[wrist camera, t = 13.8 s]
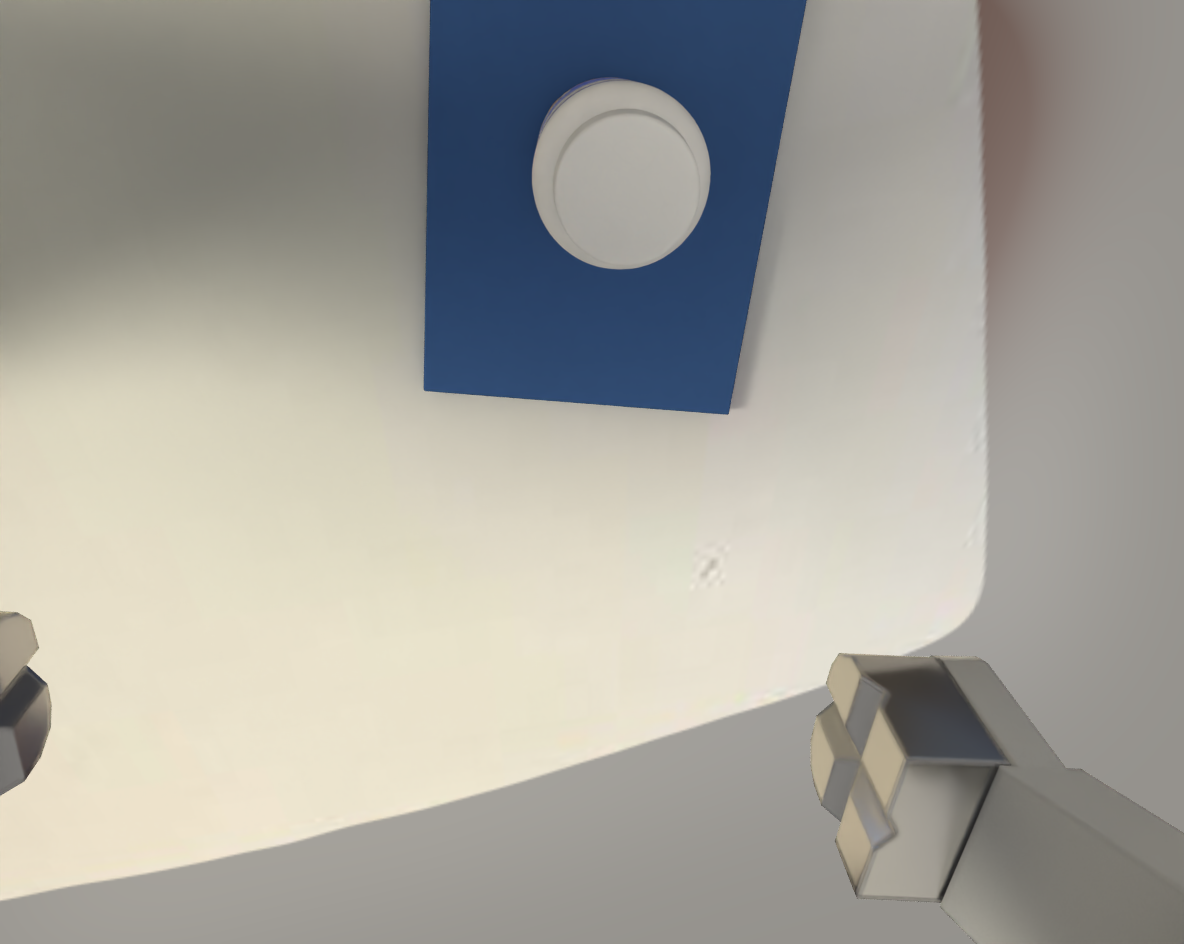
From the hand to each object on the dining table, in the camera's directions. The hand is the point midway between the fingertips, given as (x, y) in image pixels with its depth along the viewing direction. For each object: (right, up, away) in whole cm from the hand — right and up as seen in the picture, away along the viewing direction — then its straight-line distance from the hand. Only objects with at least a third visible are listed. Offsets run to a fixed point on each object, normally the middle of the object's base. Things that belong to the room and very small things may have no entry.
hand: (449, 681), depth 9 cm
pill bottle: (+2, +14, +23) cm, 27 cm away
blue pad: (+2, +14, +23) cm, 27 cm away
